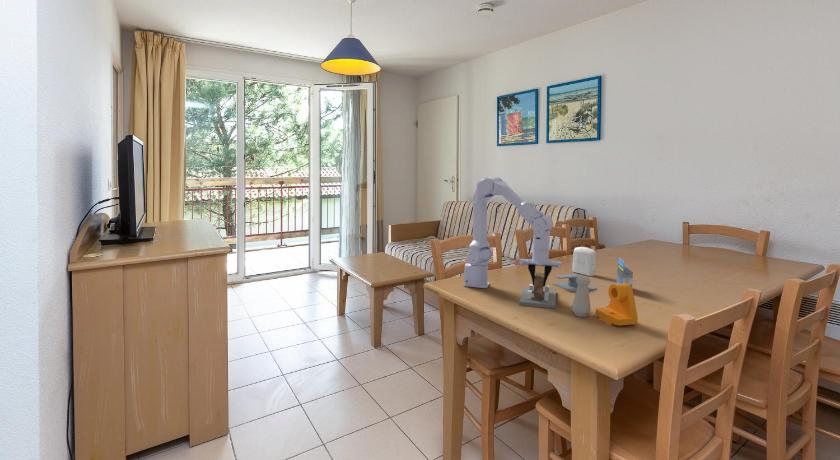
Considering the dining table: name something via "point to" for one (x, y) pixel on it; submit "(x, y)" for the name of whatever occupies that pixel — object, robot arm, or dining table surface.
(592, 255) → the photo printer
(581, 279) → the salt shaker
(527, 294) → the hinge board
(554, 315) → the dining table surface
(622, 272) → the label tape box
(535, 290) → the cabinet door
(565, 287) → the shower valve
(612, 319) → the bracket
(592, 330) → the dining table surface
